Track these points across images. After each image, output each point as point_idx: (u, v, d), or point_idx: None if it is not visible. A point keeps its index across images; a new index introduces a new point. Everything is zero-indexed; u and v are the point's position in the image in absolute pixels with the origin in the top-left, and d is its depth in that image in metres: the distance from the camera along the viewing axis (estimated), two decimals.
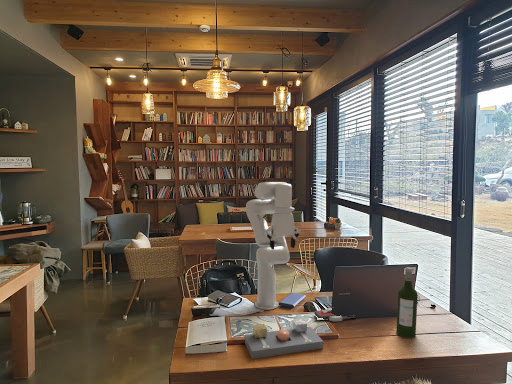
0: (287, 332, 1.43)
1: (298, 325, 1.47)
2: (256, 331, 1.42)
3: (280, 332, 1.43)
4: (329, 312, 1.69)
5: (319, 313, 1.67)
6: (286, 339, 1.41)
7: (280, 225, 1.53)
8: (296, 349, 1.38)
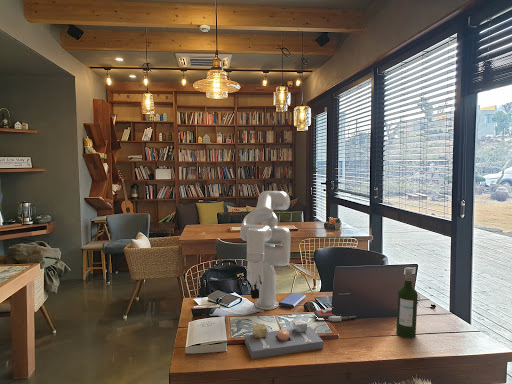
0: (287, 332, 1.43)
1: (298, 325, 1.47)
2: (256, 331, 1.42)
3: (280, 332, 1.43)
4: (329, 312, 1.69)
5: (318, 313, 1.68)
6: (286, 339, 1.41)
7: None
8: (296, 349, 1.38)
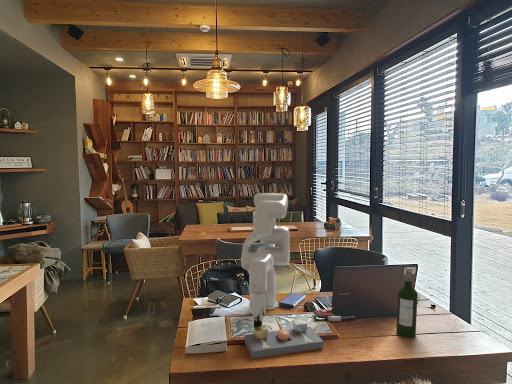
0: (287, 332, 1.43)
1: (298, 325, 1.47)
2: (257, 332, 1.40)
3: (280, 332, 1.43)
4: (328, 312, 1.69)
5: (318, 312, 1.68)
6: (286, 339, 1.41)
7: None
8: (296, 349, 1.38)
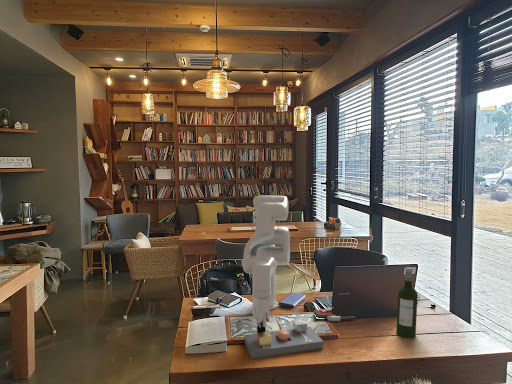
0: (287, 332, 1.43)
1: (298, 325, 1.47)
2: (260, 339, 1.35)
3: (280, 332, 1.43)
4: (328, 311, 1.69)
5: (317, 312, 1.68)
6: (286, 339, 1.41)
7: None
8: (296, 349, 1.38)
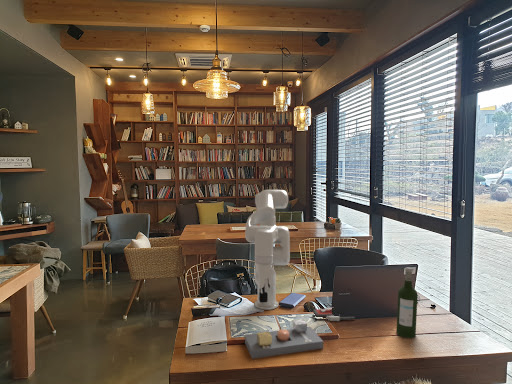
0: (287, 332, 1.43)
1: (298, 325, 1.47)
2: (260, 339, 1.35)
3: (280, 332, 1.43)
4: (327, 311, 1.69)
5: (317, 311, 1.69)
6: (286, 339, 1.41)
7: None
8: (296, 349, 1.38)
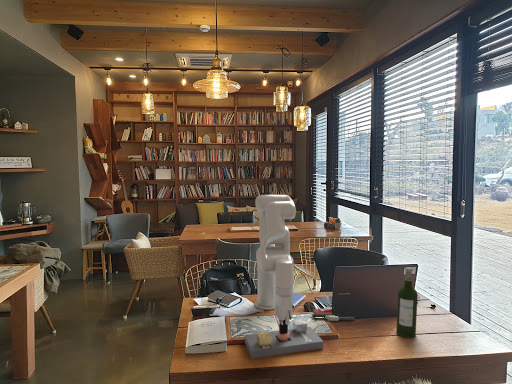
0: None
1: (298, 325, 1.47)
2: (260, 339, 1.35)
3: None
4: (327, 311, 1.70)
5: (316, 311, 1.70)
6: (286, 339, 1.41)
7: None
8: (296, 349, 1.38)
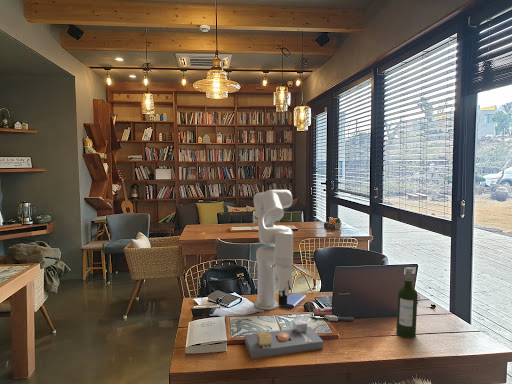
0: (287, 335, 1.43)
1: (298, 325, 1.47)
2: (260, 339, 1.35)
3: (280, 335, 1.43)
4: (326, 311, 1.70)
5: (316, 310, 1.70)
6: None
7: None
8: (296, 349, 1.38)
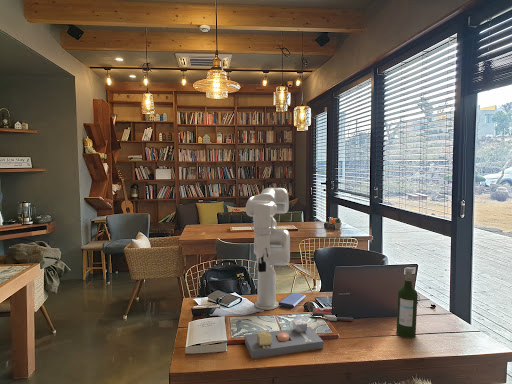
0: (287, 335, 1.43)
1: (298, 325, 1.47)
2: (260, 339, 1.35)
3: (280, 335, 1.43)
4: (326, 310, 1.70)
5: (315, 310, 1.71)
6: None
7: None
8: (296, 349, 1.38)
